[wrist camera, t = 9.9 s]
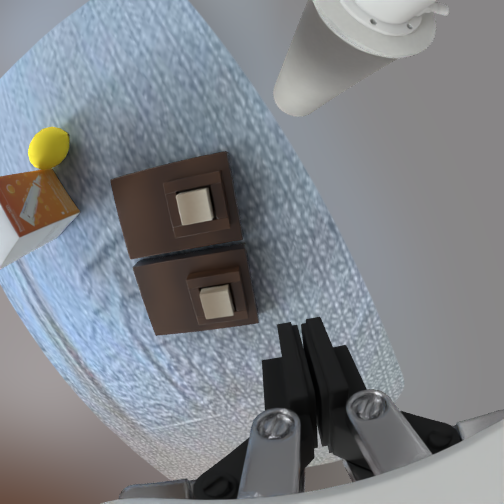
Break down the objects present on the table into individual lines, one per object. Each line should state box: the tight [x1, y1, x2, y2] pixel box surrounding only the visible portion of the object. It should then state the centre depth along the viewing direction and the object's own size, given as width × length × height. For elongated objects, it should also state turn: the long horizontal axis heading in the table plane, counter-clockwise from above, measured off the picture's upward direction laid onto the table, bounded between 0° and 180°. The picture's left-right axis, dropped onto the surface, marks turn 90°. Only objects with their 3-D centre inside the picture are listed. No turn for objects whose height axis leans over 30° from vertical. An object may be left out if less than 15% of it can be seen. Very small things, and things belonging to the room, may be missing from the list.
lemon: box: [28, 127, 69, 170], centre depth 29 cm, size 7×5×5 cm
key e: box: [200, 284, 234, 319], centre depth 33 cm, size 3×3×2 cm
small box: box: [0, 169, 80, 270], centre depth 27 cm, size 8×6×13 cm
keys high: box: [133, 243, 259, 336], centre depth 36 cm, size 14×10×4 cm
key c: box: [176, 187, 214, 225], centre depth 30 cm, size 3×3×2 cm
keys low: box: [110, 151, 243, 259], centre depth 32 cm, size 14×10×4 cm
